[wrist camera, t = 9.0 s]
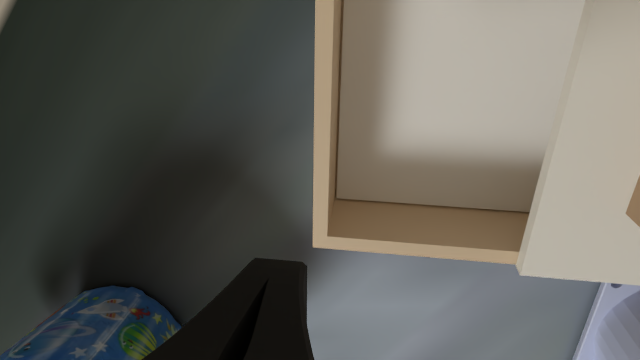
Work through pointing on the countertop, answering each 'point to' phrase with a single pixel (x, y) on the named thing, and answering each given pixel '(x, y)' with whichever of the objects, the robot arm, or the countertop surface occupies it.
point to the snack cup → (99, 328)
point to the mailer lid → (592, 158)
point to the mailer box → (434, 122)
